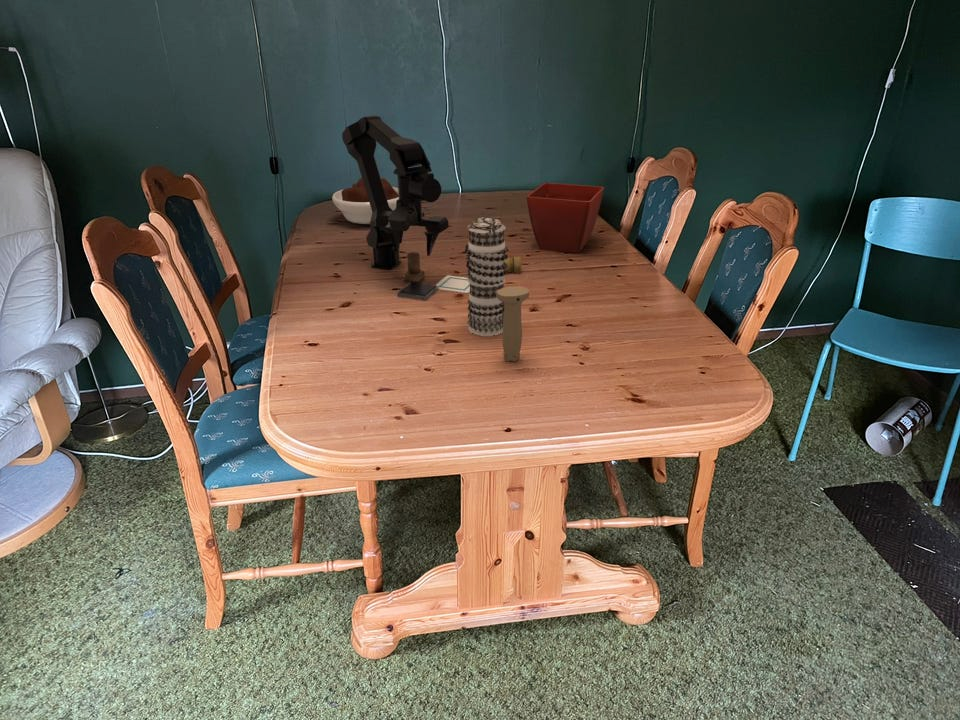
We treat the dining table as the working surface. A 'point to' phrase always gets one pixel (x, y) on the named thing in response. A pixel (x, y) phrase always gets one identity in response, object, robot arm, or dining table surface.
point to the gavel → (513, 264)
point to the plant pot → (563, 215)
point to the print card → (454, 284)
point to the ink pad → (418, 291)
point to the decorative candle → (486, 275)
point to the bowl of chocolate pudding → (361, 201)
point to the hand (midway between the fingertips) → (413, 253)
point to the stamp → (414, 269)
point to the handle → (512, 320)
